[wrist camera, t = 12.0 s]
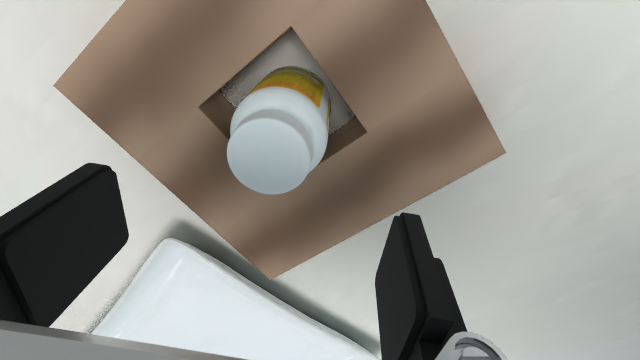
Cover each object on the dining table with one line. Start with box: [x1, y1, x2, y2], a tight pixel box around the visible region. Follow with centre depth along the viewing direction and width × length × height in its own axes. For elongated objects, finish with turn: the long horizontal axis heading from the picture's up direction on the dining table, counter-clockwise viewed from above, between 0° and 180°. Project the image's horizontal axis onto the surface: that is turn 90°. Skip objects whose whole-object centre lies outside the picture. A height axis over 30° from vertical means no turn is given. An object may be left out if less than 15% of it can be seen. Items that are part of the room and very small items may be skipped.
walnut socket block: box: [53, 0, 506, 280], centre depth 22 cm, size 20×20×4 cm
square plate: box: [90, 238, 381, 360], centre depth 37 cm, size 27×27×4 cm
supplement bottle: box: [227, 66, 331, 195], centre depth 19 cm, size 5×5×10 cm
